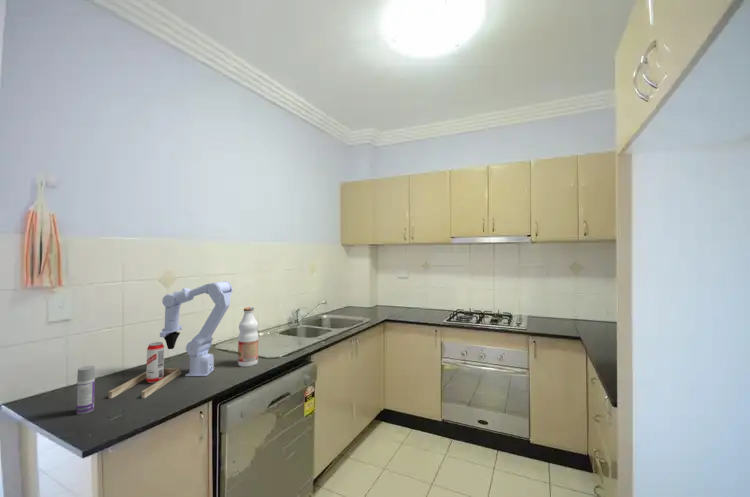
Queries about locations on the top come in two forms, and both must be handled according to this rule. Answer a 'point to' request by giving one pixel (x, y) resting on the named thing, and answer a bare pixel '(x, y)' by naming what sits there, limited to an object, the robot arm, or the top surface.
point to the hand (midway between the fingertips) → (170, 348)
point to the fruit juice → (248, 339)
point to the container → (85, 389)
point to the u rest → (171, 375)
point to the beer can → (155, 362)
